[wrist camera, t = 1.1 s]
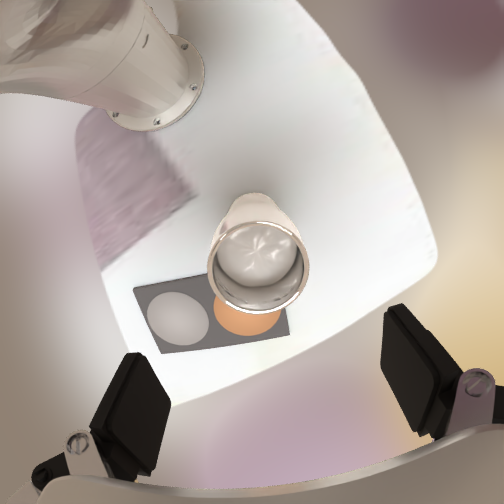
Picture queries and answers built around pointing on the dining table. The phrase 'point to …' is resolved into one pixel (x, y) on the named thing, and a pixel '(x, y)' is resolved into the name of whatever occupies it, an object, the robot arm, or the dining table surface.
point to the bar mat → (201, 317)
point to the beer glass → (257, 257)
